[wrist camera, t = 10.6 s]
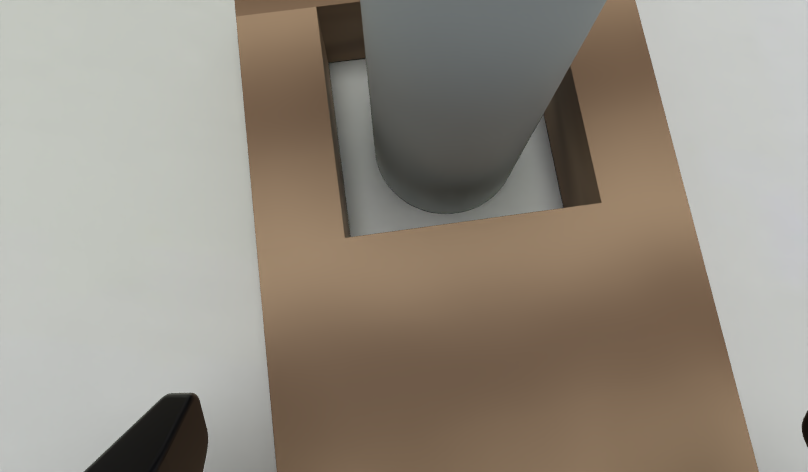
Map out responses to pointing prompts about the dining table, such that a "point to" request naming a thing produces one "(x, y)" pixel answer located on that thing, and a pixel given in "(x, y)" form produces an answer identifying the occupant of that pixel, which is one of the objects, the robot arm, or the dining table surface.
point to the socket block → (485, 284)
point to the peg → (463, 89)
